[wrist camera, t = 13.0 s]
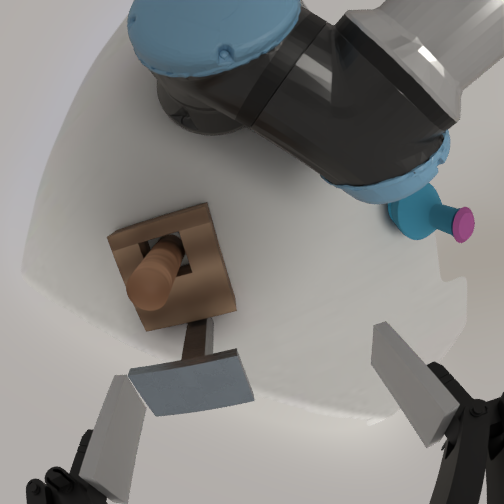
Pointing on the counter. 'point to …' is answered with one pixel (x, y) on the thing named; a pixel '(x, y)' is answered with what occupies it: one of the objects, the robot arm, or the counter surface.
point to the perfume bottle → (430, 216)
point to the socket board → (189, 276)
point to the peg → (156, 274)
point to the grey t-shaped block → (194, 377)
